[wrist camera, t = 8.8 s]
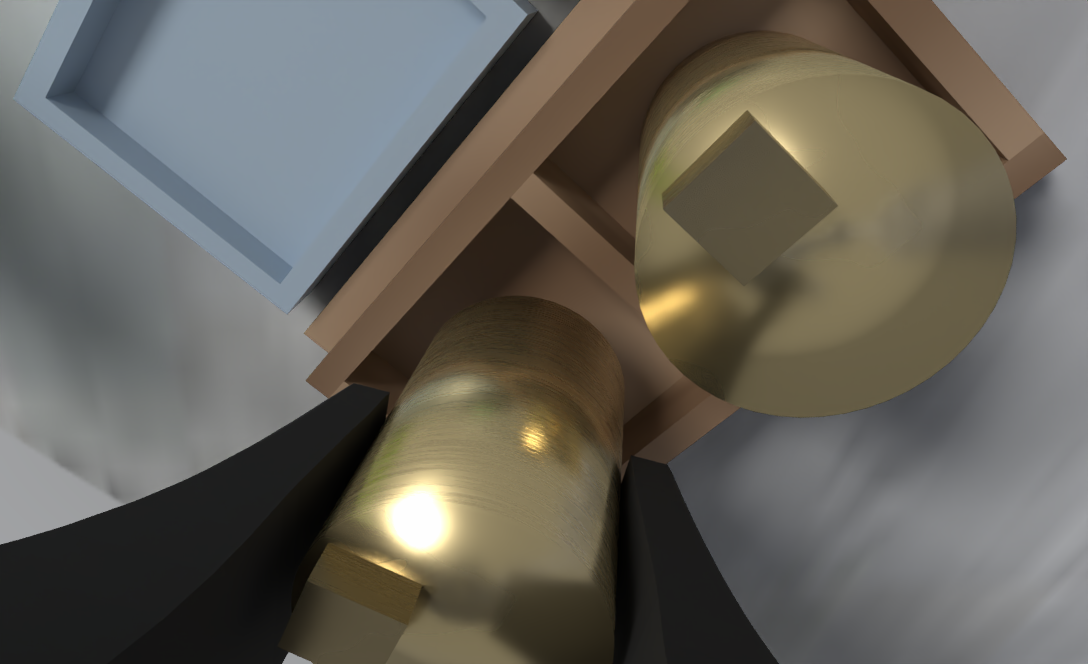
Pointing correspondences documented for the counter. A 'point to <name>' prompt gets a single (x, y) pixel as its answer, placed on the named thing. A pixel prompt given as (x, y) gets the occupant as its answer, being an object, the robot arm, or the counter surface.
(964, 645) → the counter surface
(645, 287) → the cylinder
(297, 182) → the light blue shallow tray
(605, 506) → the cylinder
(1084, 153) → the counter surface
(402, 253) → the wooden tray
